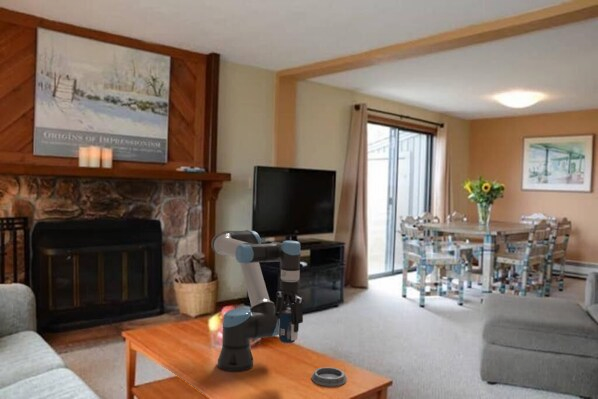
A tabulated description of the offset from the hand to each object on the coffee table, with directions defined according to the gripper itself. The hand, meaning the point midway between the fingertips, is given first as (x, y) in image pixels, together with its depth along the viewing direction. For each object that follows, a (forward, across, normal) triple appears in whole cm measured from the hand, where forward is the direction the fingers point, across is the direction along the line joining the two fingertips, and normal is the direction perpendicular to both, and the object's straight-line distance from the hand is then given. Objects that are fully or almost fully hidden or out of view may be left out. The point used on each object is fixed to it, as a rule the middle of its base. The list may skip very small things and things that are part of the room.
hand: (287, 337), depth 191 cm
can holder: (+17, +11, +13) cm, 24 cm away
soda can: (+2, 0, 0) cm, 2 cm away
